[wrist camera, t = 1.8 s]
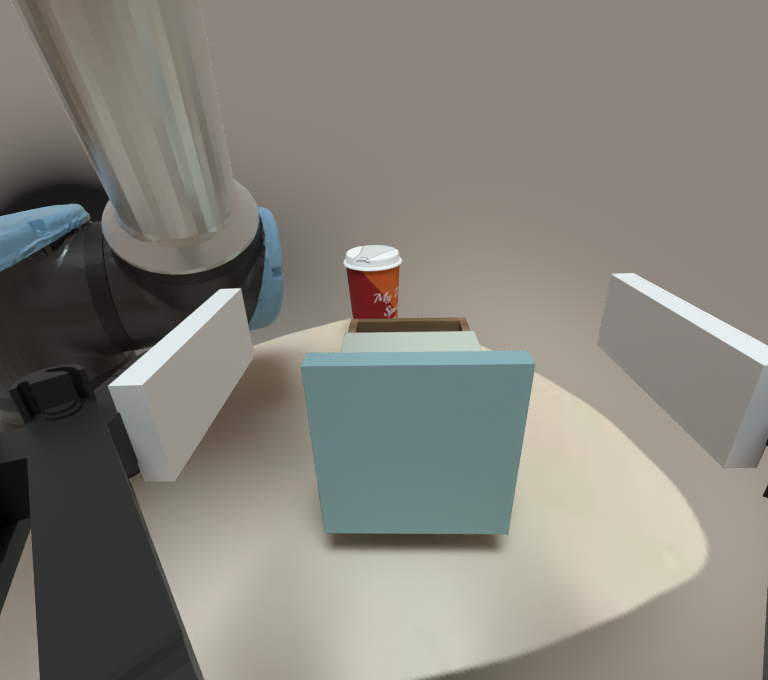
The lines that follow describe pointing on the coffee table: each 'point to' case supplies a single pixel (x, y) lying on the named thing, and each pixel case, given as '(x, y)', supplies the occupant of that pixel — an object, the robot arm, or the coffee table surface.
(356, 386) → the teal l-shaped piece
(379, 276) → the pill bottle
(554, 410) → the coffee table surface
